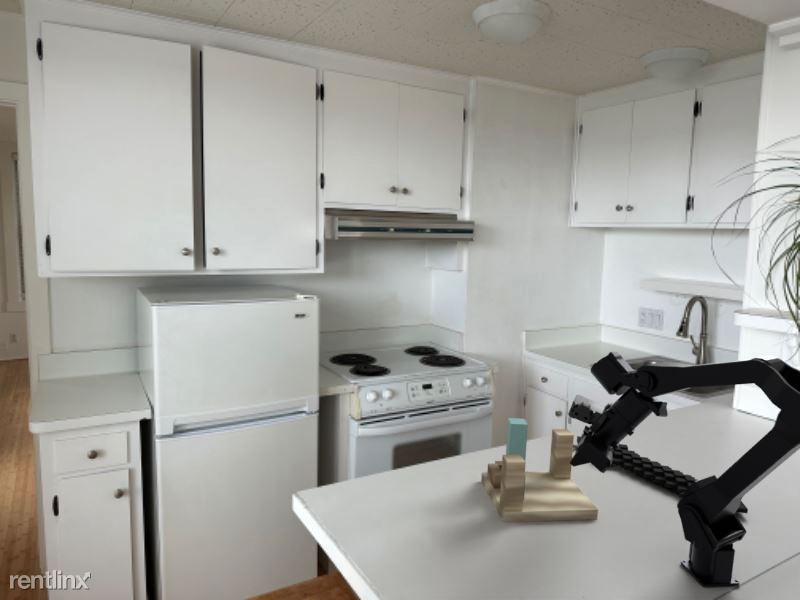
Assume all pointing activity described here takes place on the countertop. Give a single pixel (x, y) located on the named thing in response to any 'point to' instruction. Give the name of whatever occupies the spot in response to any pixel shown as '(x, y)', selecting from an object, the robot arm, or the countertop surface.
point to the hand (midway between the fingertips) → (571, 464)
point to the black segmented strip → (654, 471)
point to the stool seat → (538, 486)
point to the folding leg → (516, 437)
